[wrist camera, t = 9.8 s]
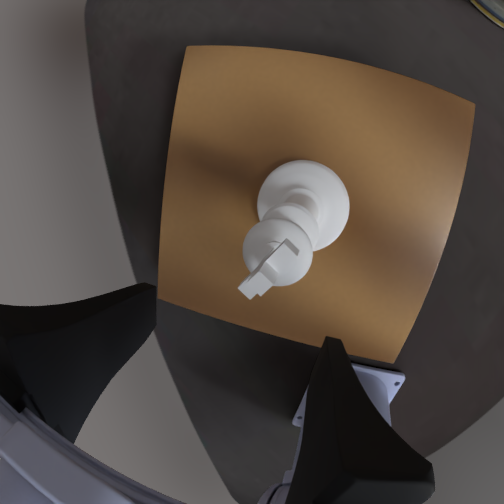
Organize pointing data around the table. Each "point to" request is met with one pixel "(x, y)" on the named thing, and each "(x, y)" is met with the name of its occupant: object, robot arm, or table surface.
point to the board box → (332, 156)
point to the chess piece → (292, 224)
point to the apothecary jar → (492, 10)
